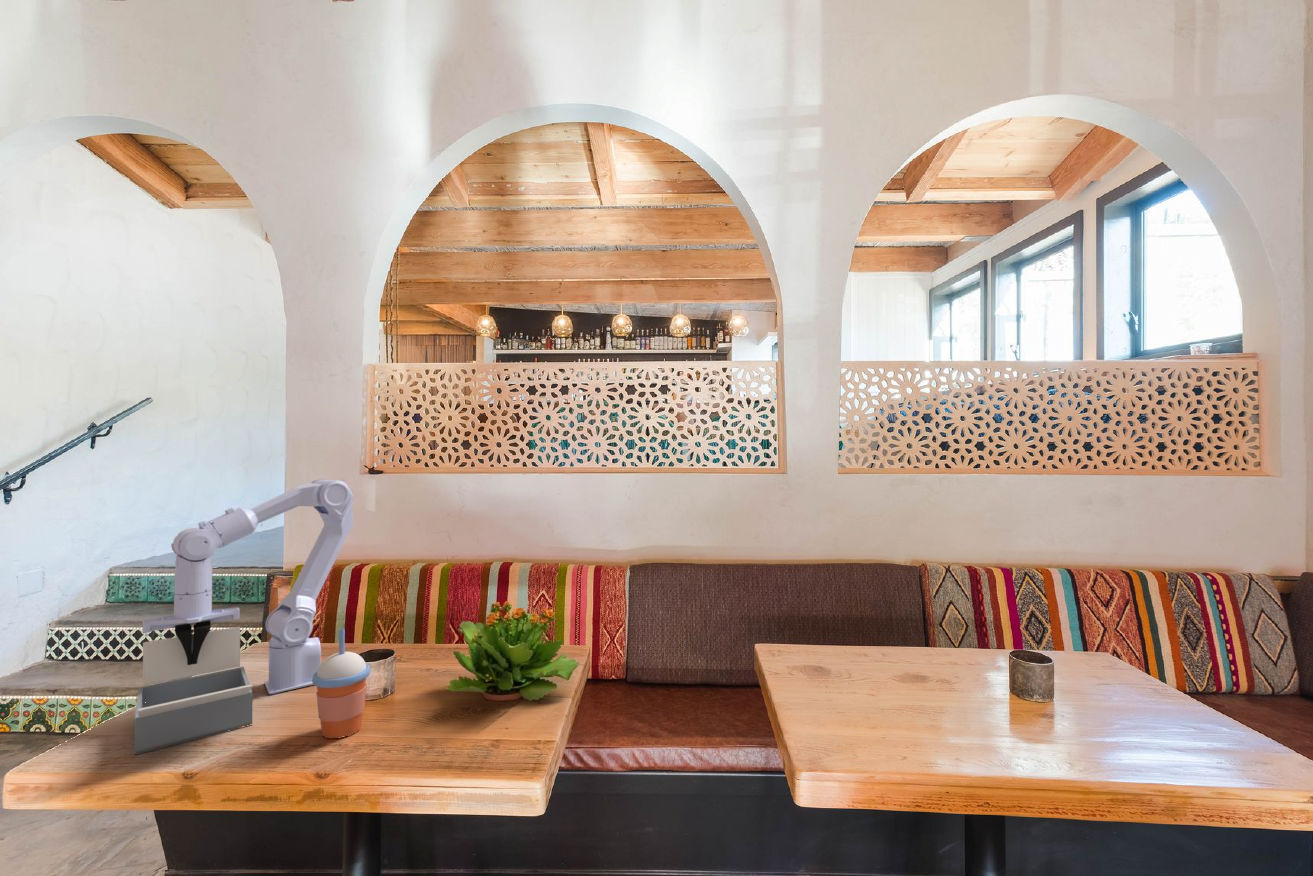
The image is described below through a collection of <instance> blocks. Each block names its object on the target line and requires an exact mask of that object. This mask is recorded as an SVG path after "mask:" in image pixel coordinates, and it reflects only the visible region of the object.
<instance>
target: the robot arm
mask: <svg viewBox="0 0 1313 876" xmlns="http://www.w3.org/2000/svg"><path fill="white" fill-rule="evenodd" d="M354 499H355V496H354V494H353V493H352V490H351V489H350V487H349V485H348V484H347V483H346V482H344V481H342V480H339V479H334V480H331V479H326V478H317V479H314V480H312V481H310V482H306V483H303V484H300V485H298V486H296V487H294V488H291V489H290V490H288V491H285V492H283V493H282V494H279V495H277V496H275V497H273V498H271V499H269V500H267V501H265V502H263V503H260V504H259V505H257V506H255V507H253V508H250V509H246V508H243V507H237V508H232V507H230V508H228V509H225V510H224V514H221V515H220V516H217V517H214V518H212V519H210V520H208V521H206V520H203V521H200V522H198V523H197V525H198V528H197V527H189V528H185V529H183V530H182V531H180V532H179V533H177V535H176V536H175V537H174V539H173V542H172V543H171V546H170V547H171V550H172V551H173V553H174V554H175V568H174V585H173V586H174V591H173V595H174V596H173V614H172V615H165V616H162V617H155V618H151V619H146V620H145V619H144V620H142V634H147V633H151V632H155V631H161V630H167V629H169V630H170V629H174V634H175V635H176V637H178V638H179V640H180V642H181V644H182V646H183V648H184V650H185V653H186V657H187V664H188V665H192V664H197V660H198V655H199V652H200V649H201V646H202V644H203V642H204V640H205V638H206V636H207V634H208V632H210V631H211V628H212V625H211V623H214V622H221V621H229V620H240V612H241V611H240V610H241V609H240V607H238V606H237V607H229V608H218V609H217V608H215V609H213V565H212V562H213V561H212V559H213V555H214V554H215V552H216V551H217V549H222V548H223V547H226V546H228V545H230V544H232V543H234V542H237V541H238V540H241V539H243V538H245V537H247V536H250V535H251V534H253V533H255V532H256V529H257V526H258V525H259V524H260V523H263V522H265V521H267V520H269V519H272V518H274V517H276V516H279V515H281V514H284V513H286V512H288V511H291V510H293V509H295V508H298V507H313V508H314V510H316V511H317V512H318V514H319V516H320V518H321V520H322V522H323V524H324V525H323V527H322V529H321V531H320V533H319V535H318V537H317V539H316V541H315V543H314V545H313V547H312V548H311V550H310V553H309V555H308V557H307V558H306V560H305V562H304V565H303V566H302V568H301V571H300V572H299V574H298V576H297V579H296V580H295V582H294V584H293V586H292V588H291V590H290V592H289V593H288V594H287V595H285V596H284V597H283V598H282V599H281V600H280V602H279V604H278V606H277V607H276V608H275V609H274V610H272V611H271V612H270V613H269V615H268V616H267V618H266V620H265V630H266V632H267V633H268V634H269V635H270V636H271V638H270V640H269V642H268V680H267V679H266V680H265V681H264V685H265V688H266V691H267V693H268V695H274V694H279V693H282V692H283V693H284V692H286V691H291V690H292V691H293V690H296V689H300V688H304V687H308V686H309V687H310V686H312V685H313V686H315V685H314V684H313V682H312V678H313V675H314V673H315V672H317V671H318V668H319V667H320V665H321V664H322V648H321V641H320V638H319V636H318V637H310V636H311V634H312V631H313V629H314V628H313V627H314V625H313V622H314V621H313V620H314V617H315V615H316V612H317V608H316V607H317V605H316V600H317V598H318V596H319V594H320V592H321V590H322V588H323V586H324V585H325V582H326V580H327V578H328V576H329V574H330V572H331V570H332V568H333V566H334V564H335V562H336V559H337V558H338V555H339V553H340V551H341V550H342V547H343V546H344V544H345V541H346V540H347V537H348V535H349V533H350V532H351V529H352V527H353V524H354V518H353V517H354V516H353V513H354V512H353V502H354ZM192 626H193V630H192ZM192 634H194V643H193V652H192V648H191V647H192Z"/></svg>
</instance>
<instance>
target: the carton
mask: <svg viewBox="0 0 1313 876" xmlns="http://www.w3.org/2000/svg"><path fill="white" fill-rule="evenodd" d="M246 685H250V682H249V679H248V675H247V672H246V669H245V667H244V666H240V667H235V668H230V669H225V670H220V671H215V672H210V673H205V674H200V675H195V676H190V677H185V678H180V679H175V680H170V681H165V682H160V683H155V684H150V685H145V686H141V687H138V688H137V689H138V691H137V698H136V706H135V707H136V708H135V713H134V756H136V755H140V754H144V753H148V752H153V751H157V750H160V749H164V748H168V747H172V746H176V745H180V744H183V743H187V742H191V741H195V740H194V739H196V740H199V739H204V738H207V737H206V736H208V737H211V736H210V735H212V736H215V735H214V734H216V735H219V734H223V733H227V732H229V731H228V730H231V731H234V729H235V730H238V729H237V728H239V727H242V726H247V725H250V724H252V725H253V689H251V690H250V691H249V693H248V694H244V695H239V696H235V697H230V698H226V699H222V700H217V701H213V702H208V703H204V704H199V705H195V706H190V707H186V708H182V709H177V710H173V711H168V712H164V713H159V714H155V715H150V716H146V717H142V718H140V717H139V713H138V709H140V708H145V707H149V706H154V705H158V704H163V703H168V702H172V701H177V700H181V699H186V698H191V697H195V696H200V695H204V694H209V693H214V692H218V691H223V690H227V689H232V688H237V687H241V686H246ZM145 702H146V703H145ZM247 727H248V726H247ZM239 729H240V728H239ZM226 731H227V732H226ZM218 733H219V734H218Z"/></svg>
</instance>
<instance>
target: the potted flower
mask: <svg viewBox="0 0 1313 876" xmlns="http://www.w3.org/2000/svg"><path fill="white" fill-rule="evenodd" d="M512 607H513V605H512V604H511V601H510V600H509V601H505V602H504V603H503V605H502V607H501V605H500V602H499V601H498V602H497V601H496V602H492V604H491V606H490V609H489V612H490V613H488V615H486V616H485V622H486V623H481V622H476V623H475V624H474V622H473V621H470V620H469V621H461V623H459V628H458V629H457V630H458V632H460V633H461V634H463V636H464V641H465V643H466V644H467V645H468V653H469V656H467V655H466V654H465V653H461V652H460V651H456V650H453V652H452V653H453V655H454V657H455V659H456V660H457V661H458V663H459V664H460V665H461V667H462V668H464V669H465V670H466V671H468V672H469V673H471V674H473V675H475V677H473V678H472V679H471V678H470V677H467V676H460V675H459V676H458V679H455V678H454V679H452V680H449V684H448V685H447V686H446V690H447V691H449V692H473V693H481V694H482V696H483V697H484V698H485V699H487V700H489V701H493V702H506V701H508V702H509V701H515V700H518V699H519V700H520V699H521V698H523V699H524V700H526V701H527V700H528V701H530V702H532V701H533V700H534V701H539V700H540V699H542V698H544V696H546V695H548V694H549V693H552V692H554V691H555V690H556V689H557V688H558V685H557V683H554V682H553V681H550V680H549V679H545V678H554V677H558V678H561V679H564V680H566V681H569V680H570V679H571V677H572V674H573V672H574V671H575V670H576V669H577V667H578V666H579V665H580V662H579V661H578V662H577V659H576V658H568V654H567V653H566V652H564V653H562V654H561V655H560V656H559V657H557V656H558V655H559V654H558V652H559V651H560V649H561V648H562V645H563V643H564V642H563V640H557V639H556V640H555V641H552V640H550V637H548V638H547V640H546V636H547V632H548V630H549V628H550V624H551V622H552V621H556V617H555V612H553V610H554V609H548V608H544V609H541V610H540V611H539V612H540V613H541V614H540V616H539V615H538V614H537V613H536V612H533V613H527V612H526V610H525V609H524V607H517V608H514V609H513V611H512V613H511V614H512V615H511V614H510V611H511V609H512ZM501 611H503V612H506V613H507V614H504V615H503V612H501ZM540 617H541V618H543V619H540ZM543 634H544V635H543ZM545 640H546V641H545ZM556 657H557V658H556ZM554 658H556V659H554Z"/></svg>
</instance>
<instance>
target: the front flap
mask: <svg viewBox="0 0 1313 876" xmlns="http://www.w3.org/2000/svg"><path fill="white" fill-rule="evenodd" d="M249 684H250V683H249ZM253 686H254V685H253V683H252V684H250V685H246V686H241V687H237V688H232V689H227V690H223V691H218V692H214V693H209V694H204V695H200V696H195V697H191V698H186V699H181V700H177V701H172V702H168V703H163V704H158V705H154V706H149V707H145V708H140V709H138V713H139V717H140V718H142V717H146V716H150V715H155V714H159V713H164V712H168V711H173V710H177V709H182V708H186V707H190V706H195V705H199V704H204V703H208V702H213V701H217V700H222V699H226V698H230V697H235V696H239V695H244V694H248V693H249V691H250V690H252V688H253Z"/></svg>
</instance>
